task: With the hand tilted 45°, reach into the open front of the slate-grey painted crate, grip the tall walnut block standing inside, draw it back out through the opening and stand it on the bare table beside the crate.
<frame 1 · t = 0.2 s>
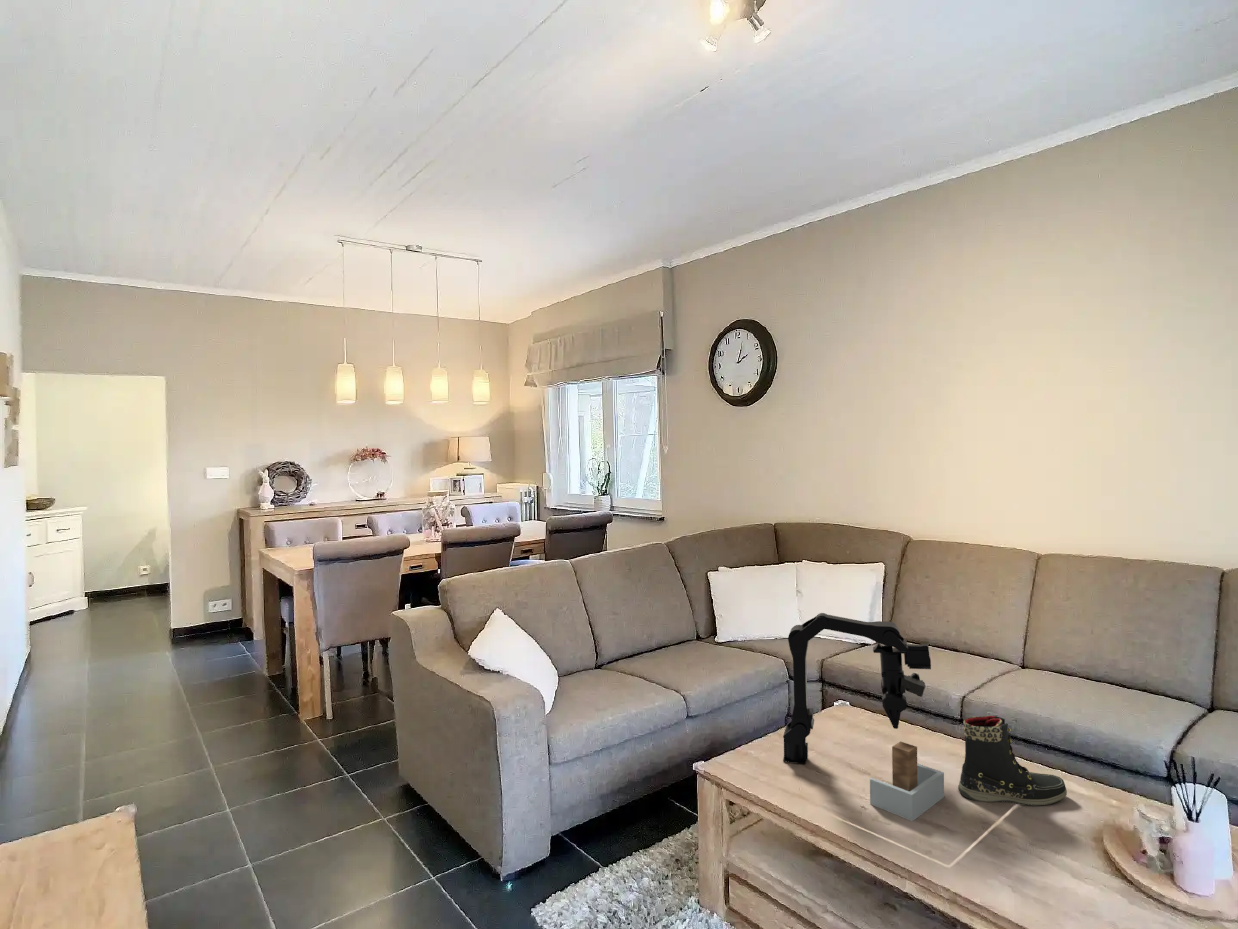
hand: (895, 722, 197), 14 cm above the table, tool pointing down, fingers open, 9 cm apart
walnut block: (905, 799, 181), resting on crate
crate: (905, 801, 181), on the table
boot: (1011, 797, 182), on the table
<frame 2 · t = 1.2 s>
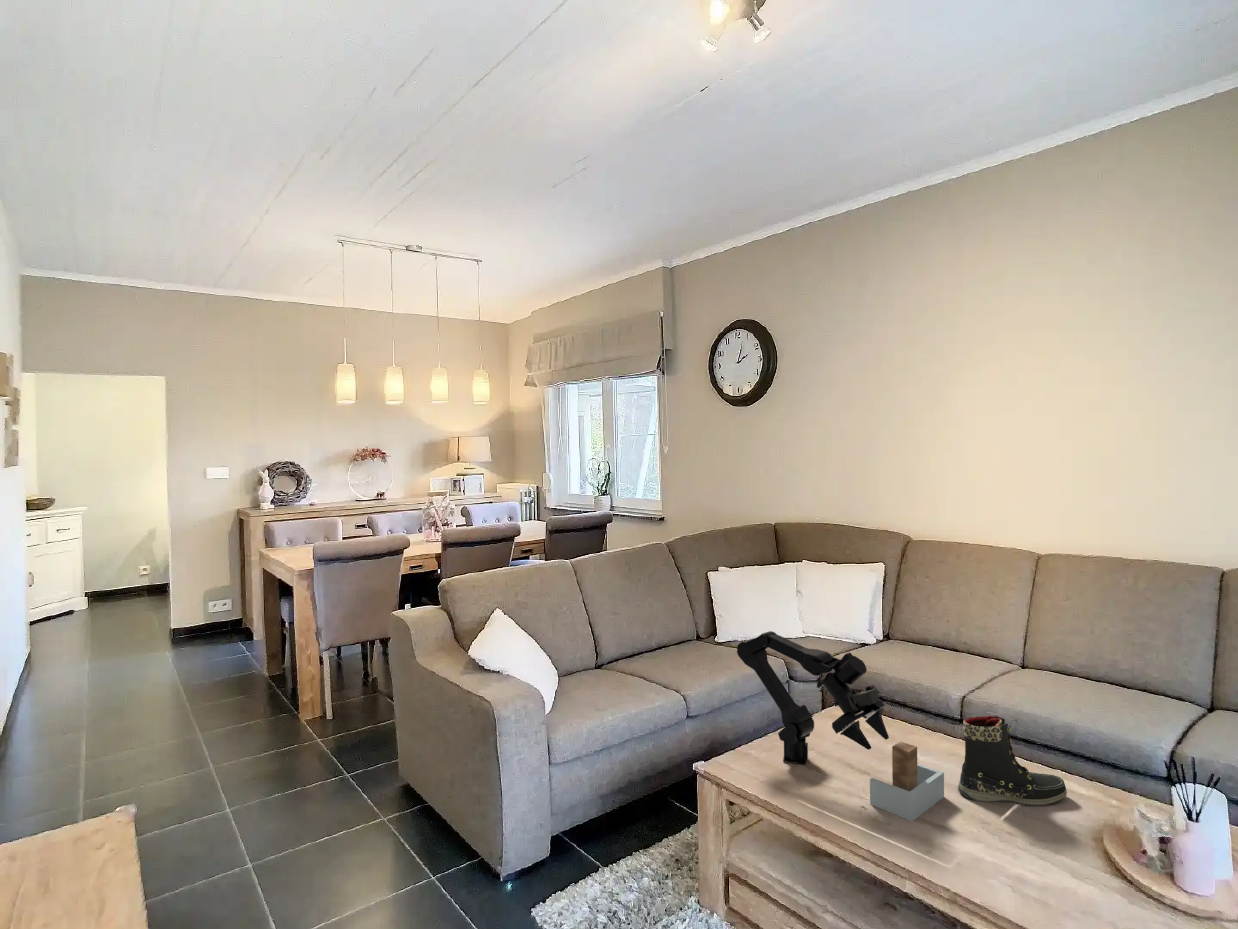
hand: (879, 743, 186), 13 cm above the table, tool tilted 45°, fingers open, 9 cm apart
nothing on the table moved.
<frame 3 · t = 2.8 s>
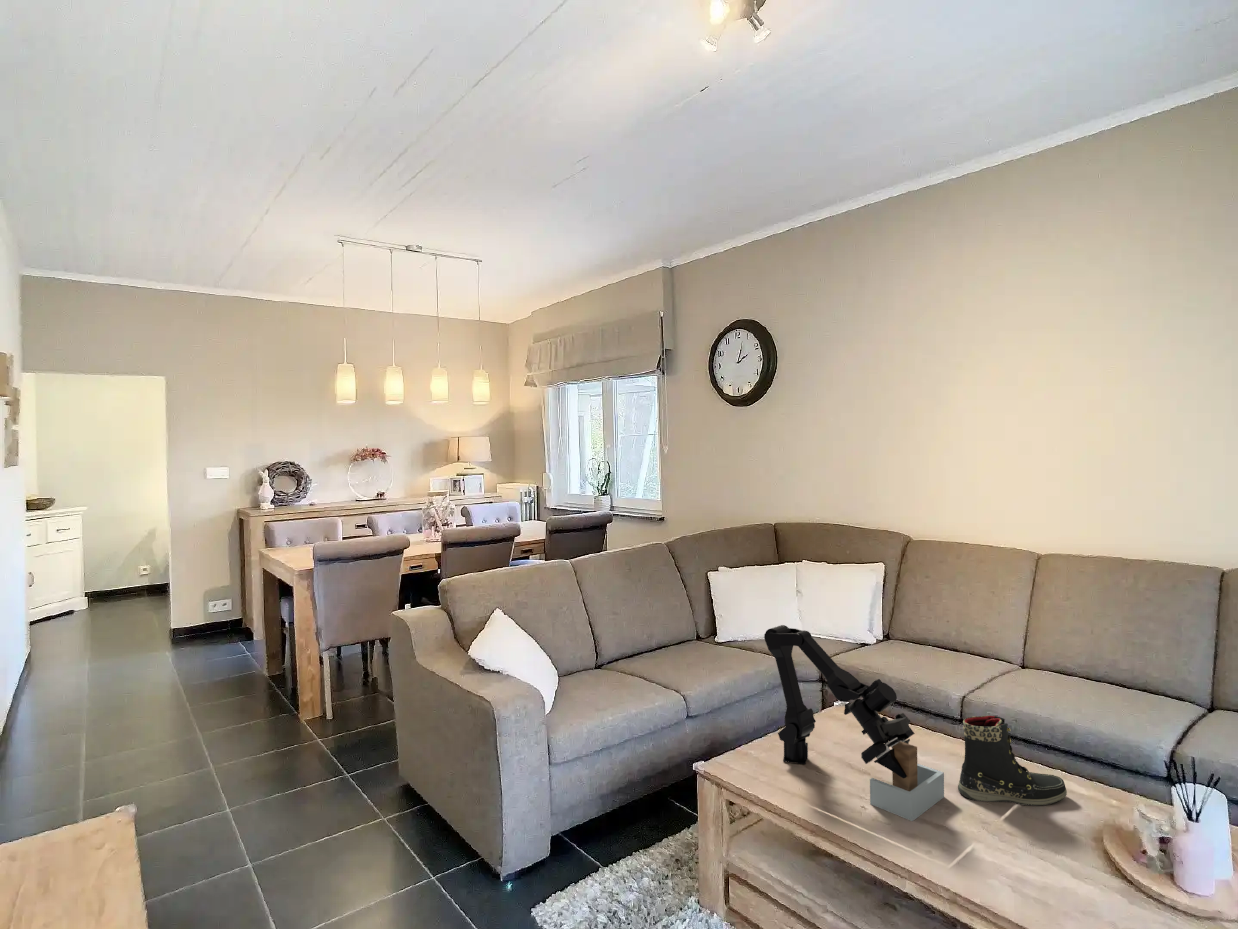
hand: (910, 774, 180), 8 cm above the table, tool tilted 45°, fingers closed on walnut block, 4 cm apart
walnut block: (905, 799, 181), resting on crate, touching gripper
everything else where it was.
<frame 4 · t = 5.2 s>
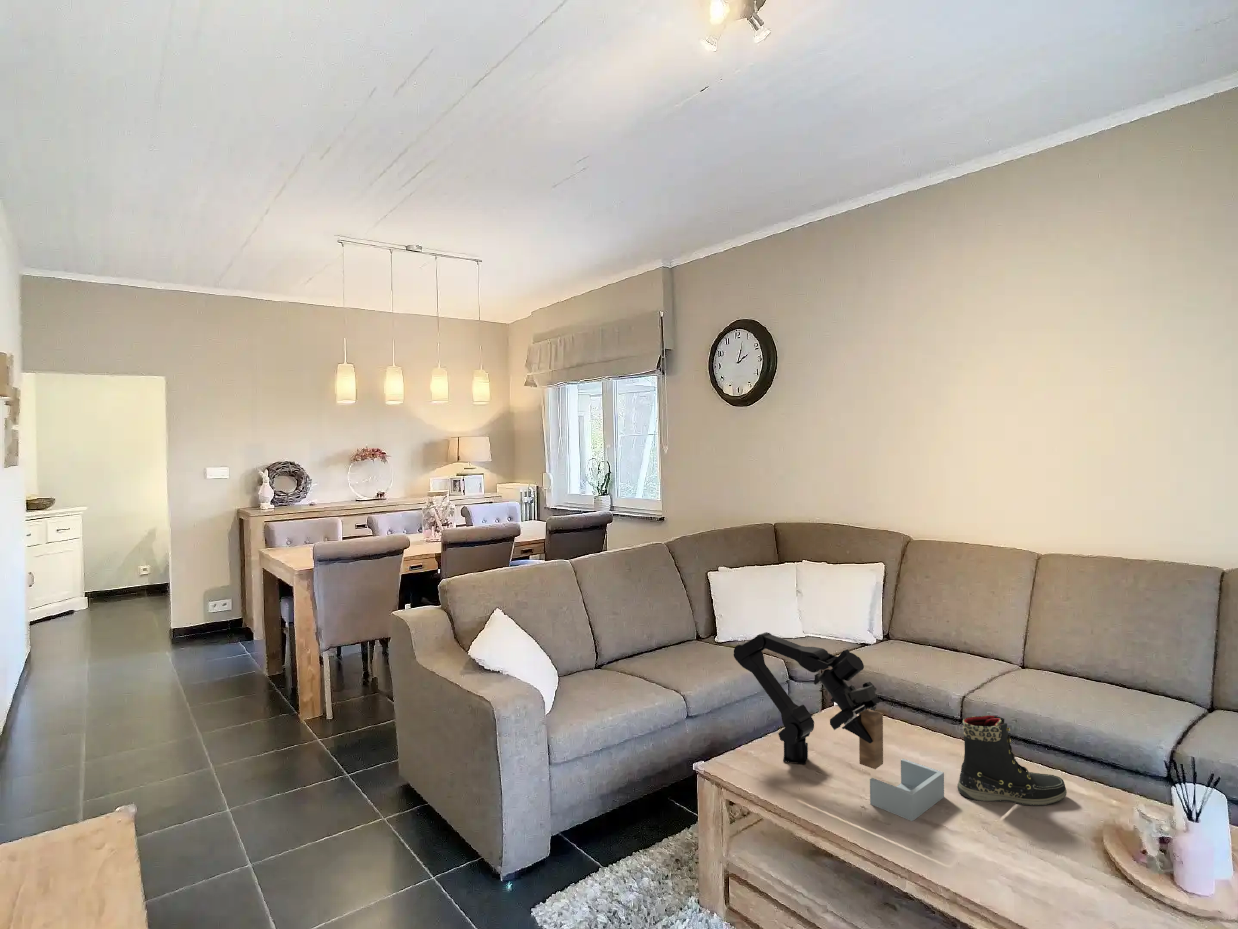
hand: (875, 739, 187), 13 cm above the table, tool tilted 45°, fingers closed on walnut block, 4 cm apart
walnut block: (871, 764, 189), point 6 cm above the table, touching gripper
everything else where it was.
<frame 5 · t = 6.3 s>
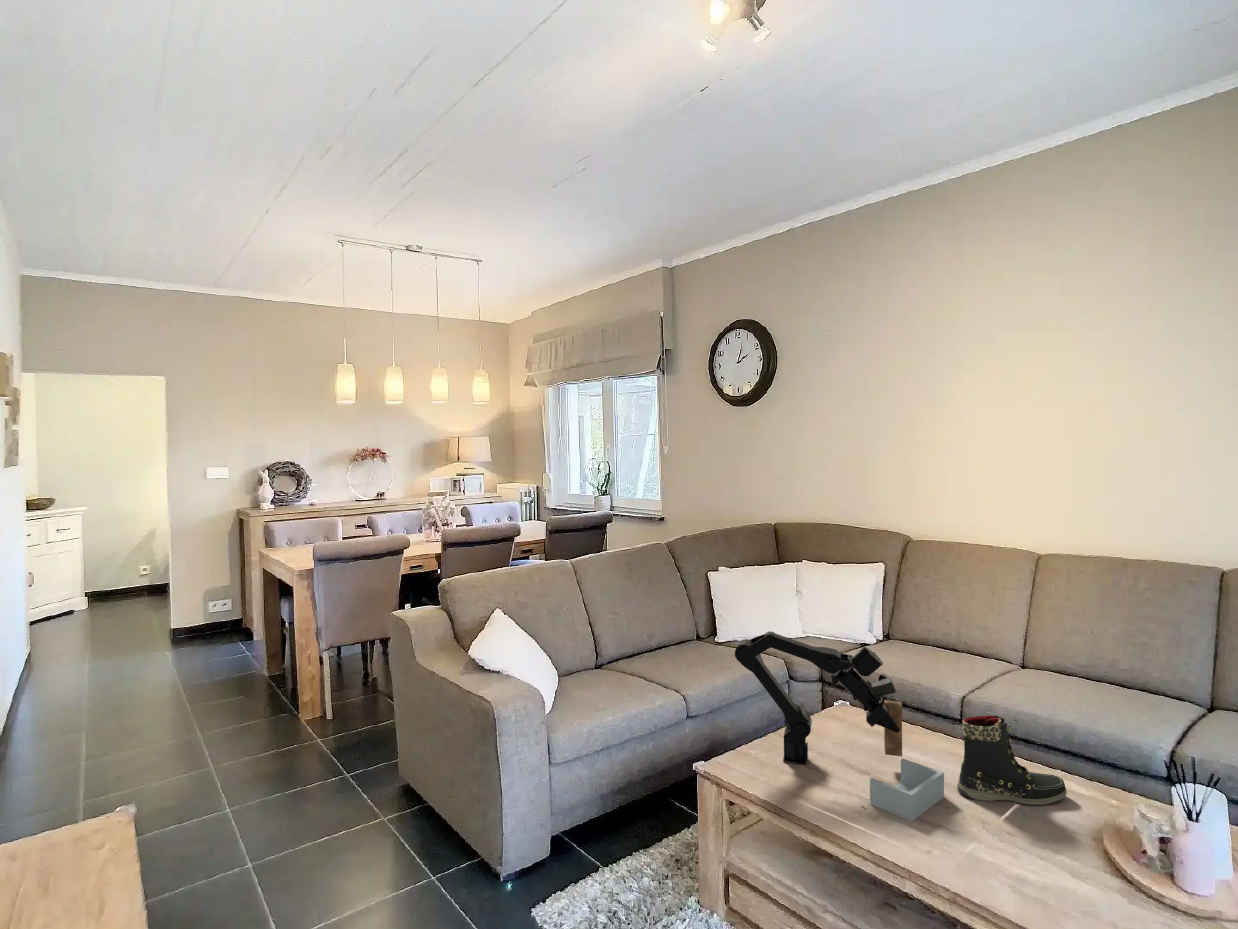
hand: (898, 728, 197), 12 cm above the table, tool tilted 45°, fingers closed on walnut block, 4 cm apart
walnut block: (893, 752, 198), point 5 cm above the table, touching gripper
everything else where it was.
when the fingers open (8 cm above the table, at t = 7.3 s): walnut block stays where it is, on the table.
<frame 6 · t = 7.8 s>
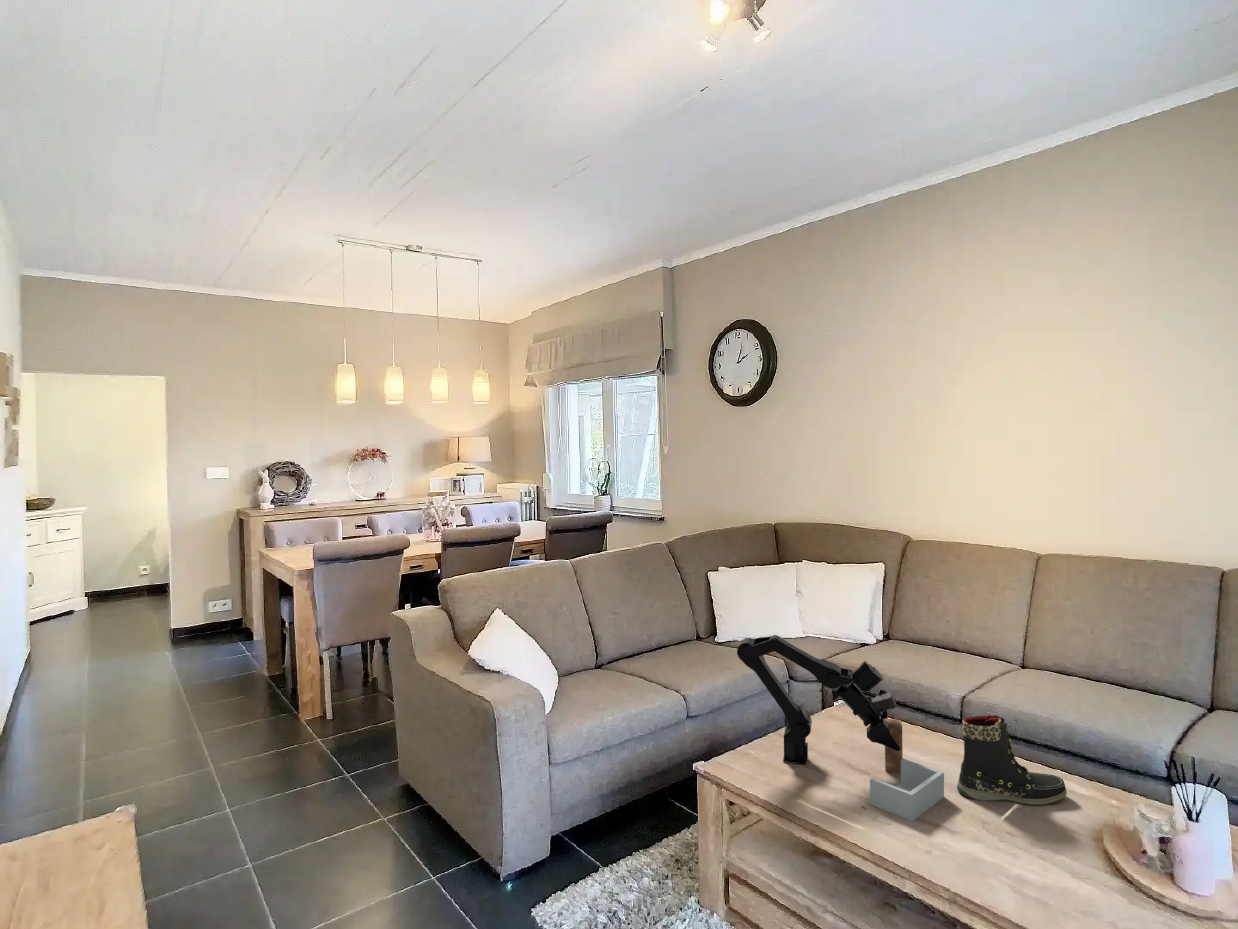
hand: (898, 743, 197), 8 cm above the table, tool tilted 45°, fingers open, 9 cm apart
walnut block: (893, 770, 198), on the table
everything else where it was.
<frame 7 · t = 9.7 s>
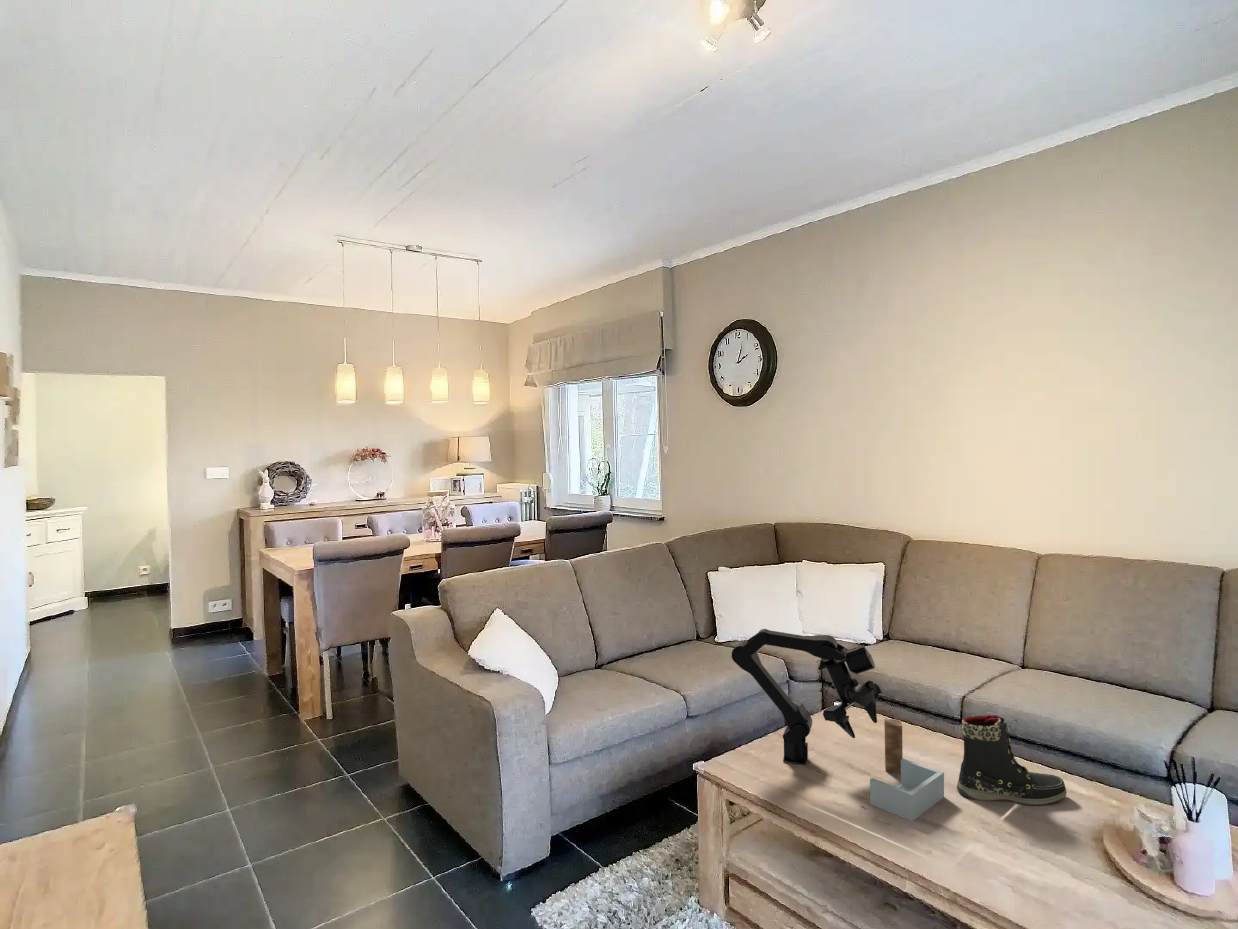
hand: (864, 730, 199), 11 cm above the table, tool tilted 25°, fingers open, 9 cm apart
nothing on the table moved.
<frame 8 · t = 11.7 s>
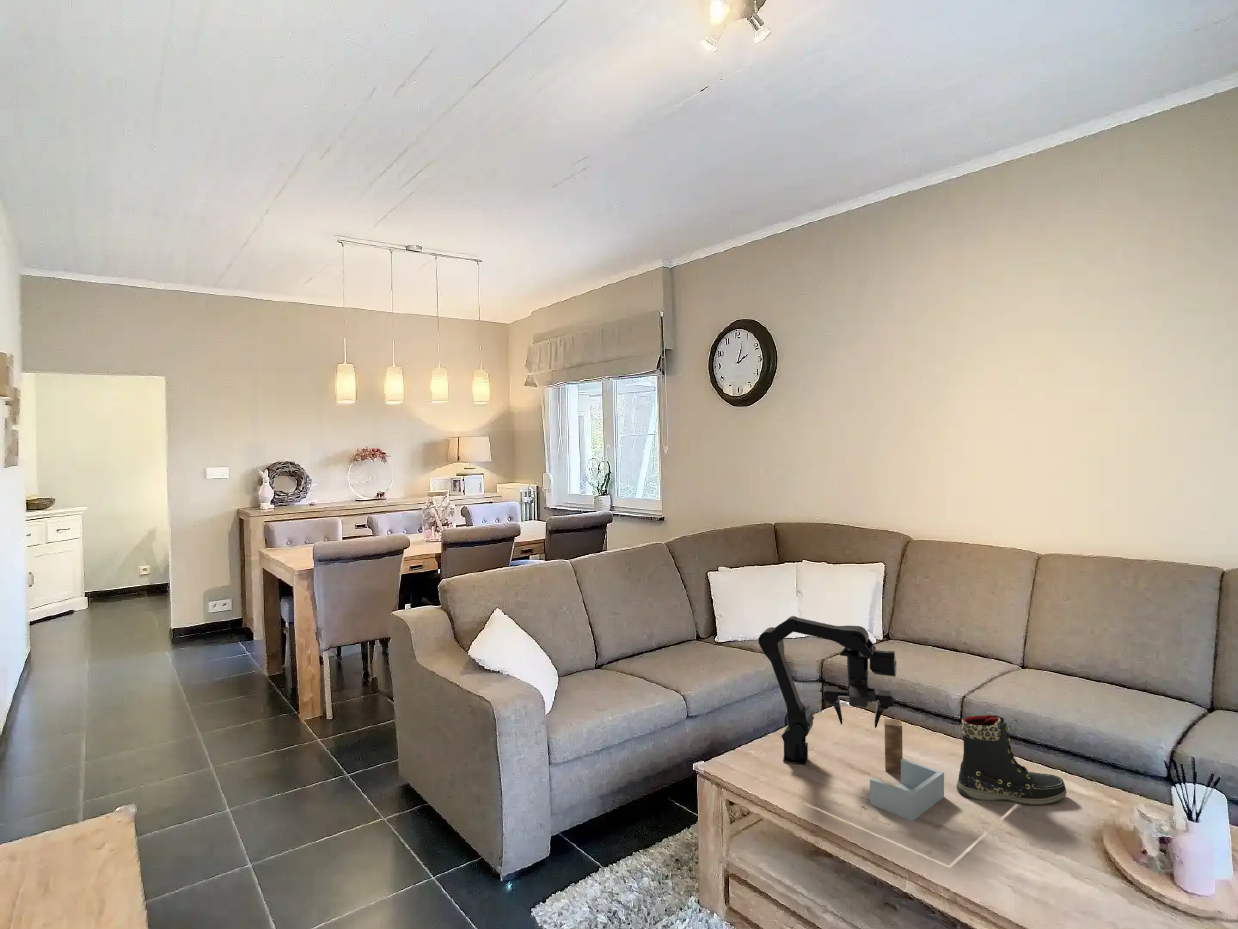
hand: (858, 725, 198), 13 cm above the table, tool pointing down, fingers open, 9 cm apart
nothing on the table moved.
at the end: walnut block touching table; walnut block tilted 0°; walnut block inside the target area (0.0 cm from its centre), on the table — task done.
